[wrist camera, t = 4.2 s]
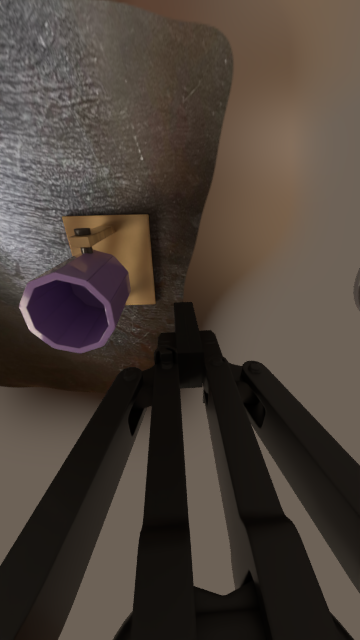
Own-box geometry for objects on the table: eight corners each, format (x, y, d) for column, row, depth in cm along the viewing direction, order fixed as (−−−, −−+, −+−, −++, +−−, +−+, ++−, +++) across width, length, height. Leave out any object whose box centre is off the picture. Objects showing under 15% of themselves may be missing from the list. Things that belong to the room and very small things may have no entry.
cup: (124, 243, 24) (102, 263, 16) (134, 313, 28) (121, 355, 20) (56, 245, 24) (1, 267, 16) (77, 315, 28) (42, 359, 20)
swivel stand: (148, 214, 30) (137, 220, 20) (155, 301, 37) (150, 340, 27) (64, 216, 30) (9, 223, 20) (87, 304, 37) (56, 344, 27)
